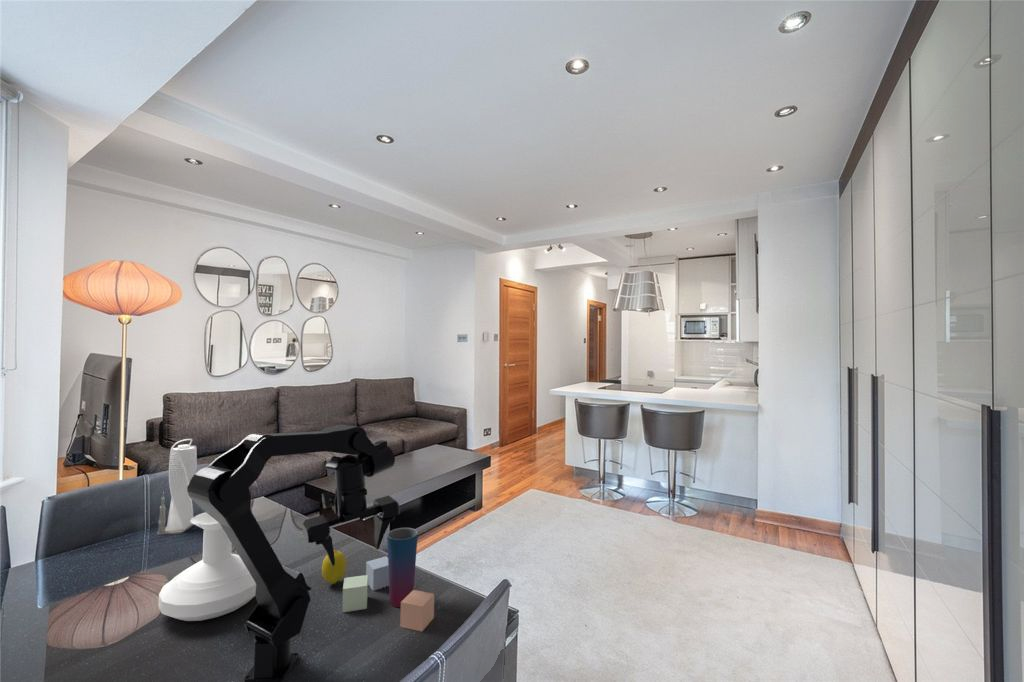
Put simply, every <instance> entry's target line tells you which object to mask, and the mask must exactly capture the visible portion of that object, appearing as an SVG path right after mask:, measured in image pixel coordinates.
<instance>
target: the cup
mask: <svg viewBox="0 0 1024 682" xmlns="http://www.w3.org/2000/svg"><path fill="white" fill-rule="evenodd" d="M418 535H419V531H418V530H417V529H415V528H412V527H399V528H394V529H392V530H390V531H389V532H388V533H386V540H387V541H386V542H387V543H386V545H387V558H388V568H389V586H388V588H389V589H388V591H389V604H390V605H391V606H392V607H395V608H401V601H402V600H403V599H405V598H406V597H407V596H408V595H409V594H410V593H411V592H412V591H413V590H415V588H414V587H415V577H416V576H415V575H416V563H417V550H418V538H419V537H418Z"/></svg>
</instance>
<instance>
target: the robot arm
mask: <svg viewBox="0 0 1024 682" xmlns="http://www.w3.org/2000/svg"><path fill="white" fill-rule="evenodd" d="M323 452H327V453H336V454H345V455H343V456H342V457H340V456H337V455H336V456H335V455H332V456H331V459H330V460H329V461H328V462H327V463H326V464H325V465H324V468H325V470H330V471H334V474H335V475H334V476H335V492H334V493H335V494H333V492H332V491H327V492H324V493H321V502H322V503H321V504H322V508H323V509H327V508H328V509H329V508H332V509H331V510H332V511H333V512H334V514H335V515H337V516H335V517H331V518H327V519H326V517H325V516H324V515H323V514H320V515H318V516H313V517H310V518H307V519H305V520H304V521H303V523H302V534H303V536H304V538H305V539H306V541H307V542H308V544H309V543H310V544H313V543H314V544H315V545H316V546H317V545H318V546H319V545H322V546H323V549H324V551H325V554H326V556H327V555H328V558H329V560H330V562H331V564H332V566H334V565H335V557H334V550H335V549H334V544H333V539H332V537H331V535H330V534H331V529H334V528H337V527H338V528H339V527H340V526H343V525H344V526H345V525H347V524H350V523H353V522H357V521H360V520H363V519H366V518H369V517H373V522H374V534H373V535H374V538H373V539H374V547H375V550H377V551H378V550H380V546H381V544H382V541H383V539H384V536H385V534H386V531H387V530H388V528H389V525H390V523H391V522H392V521H394V520H395V517H396V516H399V515H400V514H401V508H400V503H399V502H398V501H397V500H395V499H394V498H393V497H392V496H390V495H385V496H382V497H379V498H375V499H374V500H373V502H372V504H373V505H371V506H368V507H367V495H368V490H367V488H366V477H367V478H371V477H374V476H376V475H379V474H381V473H383V472H385V471H387V470H389V469H392V468H393V467H394V465H395V462H396V456H395V454H394V452H393V450H392V449H391V447H390V446H388V441H387V440H378V441H375V442H374V443H373V442H372V441H371V440H370V438H369V437H368V435H367V432H366V430H365V428H364V427H362V426H356V425H348V424H335V425H332V426H327V427H325V428H323V429H320V430H316V431H300V432H297V431H296V432H278V433H276V432H275V433H260V432H253V433H251V434H249V435H247V436H246V437H244V438H243V439H242V440H241V441H240V442H239V443H238V444H236V446H234V447H231V448H230V449H229V450H227V451H226V452H224V453H222V454H221V455H220V456H218V457H216V458H215V459H214V460H213V461H212V462H210V464H209V465H207V466H205V467H203V468H201V469H199V470H198V471H196V474H194V476H193V477H192V479H191V480H190V483H189V485H188V486H187V492H188V494H189V496H190V498H191V499H192V502H194V503H195V504H196V505H197V506H198V507H199V508H200V509H201V510H203V511H204V513H205V512H206V513H207V514H209V515H210V516H211V517H213V518H214V519H215V520H216V521H218V522H219V523H220V525H221V526H222V528H223V530H224V531H225V533H226V535H227V536H228V538H229V540H230V541H231V543H232V546H233V548H234V549H235V551H236V553H237V555H239V556H240V558H241V559H242V561H243V563H244V564H245V566H246V568H247V569H248V571H249V573H250V574H251V576H252V578H253V579H254V581H255V583H256V593H255V596H254V597H255V599H256V602H257V603H256V604H255V606H254V607H253V608H252V610H251V611H250V613H249V614H248V616H247V617H246V619H245V620H244V622H243V626H244V628H245V629H246V632H248V633H251V635H254V651H253V656H254V657H253V666H252V668H251V669H250V670H249V671H248V672H247V673H246V675H244V679H243V680H244V681H243V682H282V681H283V680H284V679H285V677H286V676H287V674H288V673H289V672H290V670H291V669H292V667H293V665H294V664H295V663H296V661H297V659H298V658H299V657H300V656H299V654H300V653H299V652H292V638H294V637H296V636H297V635H299V634H300V633H301V630H302V627H303V624H304V621H305V617H306V613H307V611H308V607H309V604H310V602H311V598H312V597H311V595H310V592H309V591H311V590H312V587H311V586H309V585H308V584H307V582H306V578H305V576H304V574H303V573H302V572H300V571H298V570H296V569H293V568H290V567H288V566H285V565H282V563H281V561H280V559H279V558H278V556H277V554H276V552H275V551H274V549H273V547H272V545H271V543H270V541H269V539H268V538H267V536H266V535H265V533H264V531H263V530H262V528H261V526H260V524H259V521H257V519H256V517H255V515H254V514H253V512H252V493H251V489H250V487H251V486H252V485H253V484H254V483H255V482H256V481H257V480H258V479H259V477H260V475H261V474H262V472H263V469H264V468H265V466H266V464H267V462H268V461H269V460H270V459H271V458H272V457H279V456H280V457H282V456H291V455H300V454H302V455H303V454H310V453H323Z"/></svg>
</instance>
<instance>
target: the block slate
mask: <svg viewBox="0 0 1024 682" xmlns="http://www.w3.org/2000/svg"><path fill="white" fill-rule="evenodd" d="M365 564H366V565H365V566H366V567H365V575H368V585H369V586H370V587H369V586H368V587H369V588H370V589H371V590H372V591H373V592H375V591H377V590H378V591H379V590H380V589H383V587H384V588H387V587H389V568H388V556H386V555H385V556H382V557H378V558H375V559H372V560H368V561H366V563H365ZM386 586H387V587H386Z"/></svg>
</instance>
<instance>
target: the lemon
mask: <svg viewBox="0 0 1024 682" xmlns="http://www.w3.org/2000/svg"><path fill="white" fill-rule="evenodd" d="M333 550H334V557H335V565H334V566H332V564H331V562H330V560H329V558H328V555H327V554H326V555H325V557H324V559H323V561H322V564H321V575H322V578H323V580H324V581H325V582H327V583H330V584H331V585H335V584H336V583H337V582H338V581H340V580H341V579H343V577H344V576H345V573H346V570H347V560H346V557H345V555H344V553H343V552H341V551H339V550H336V549H333Z"/></svg>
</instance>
